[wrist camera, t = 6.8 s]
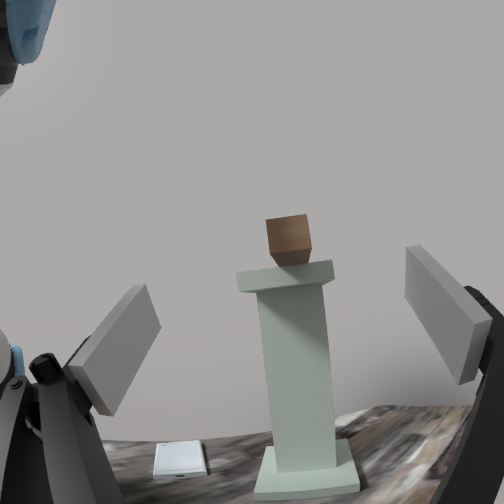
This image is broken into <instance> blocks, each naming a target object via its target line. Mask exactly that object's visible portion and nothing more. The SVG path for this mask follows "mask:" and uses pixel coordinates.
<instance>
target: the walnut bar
mask: <svg viewBox="0 0 504 504" xmlns="http://www.w3.org/2000/svg"><path fill="white" fill-rule="evenodd" d="M266 226H267V234H268V241H269V250H270V254H271V256H272V257H273V259H274V260H275V262H276V263H277V265H278V266H279V267H283V266H290V265H297V264H305V263H308V261H309V257H310V253H311V249H312V247H311V239H310V233H309V226H308V220H307V215H306V214H303V215H296V216H289V217H282V218H275V219H268V220H266Z"/></svg>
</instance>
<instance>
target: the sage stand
mask: <svg viewBox="0 0 504 504" xmlns="http://www.w3.org/2000/svg"><path fill="white" fill-rule="evenodd" d="M236 274H237V283H238V291H239V292H249V293H256V295H257V303H258V311H259V320H260V329H261V337H262V346H263V355H264V363H265V372H266V380H267V389H268V398H269V406H270V415H271V424H272V432H273V441H274V446H270V447H266V450H265V454H264V458H263V461H262V465H261V469H260V472H259V476H258V479H257V482H256V486H255V489H254V499H255V501H279V500H297V499H309V498H319V497H327V496H335V495H342V494H348V493H354V492H360V481H359V478H358V474H357V471H356V468H355V464H354V461H353V457H352V454H351V450H350V447H349V444H348V440H347V438H346V439H339V440H335V422H334V406H333V392H332V379H331V367H330V355H329V345H328V336H327V335H328V334H327V325H326V317H325V307H324V299H323V291H322V285H324V284H326V283H328V282H330V281H332V280H334V279H335V277H334V270H333V262H332V260H326V261H319V262H312V263H305V264H297V265H290V266H283V267H275V268H269V269H260V270H252V271H245V272H237V273H236Z"/></svg>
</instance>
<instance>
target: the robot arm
mask: <svg viewBox="0 0 504 504" xmlns="http://www.w3.org/2000/svg"><path fill="white" fill-rule="evenodd" d="M55 3H56V0H0V97H1V96H2V95H3V94H4V93H5V92H6V91H7V90H8V89H10V88H11V87H12V85H13V82H14V77H15V74H16V70H17V67H18V64H19V63H20V64H22V65H24V64H27V63H32V62H34V61H35V60H36V59H37V58H38V56H39V54H40V51H41V49H42V46H43V41H44V38H45V34H46V32H47V29H48V26H49V23H50V19H51V16H52V13H53V9H54V6H55ZM405 276H406V278H405V298H406V300H407V301H408V303H409V304H410V306H411V307H412V309H413V310H414V312H415V314H416V315H417V317H418V318H419V320H420V321H421V323H422V325H423V326H424V328H425V329H426V331H427V333H428V334H429V336H430V338H431V339H432V341H433V342H434V344H435V346H436V348H437V349H438V351H439V353H440V354H441V356H442V358H443V359H444V361H445V363H446V365H447V367H448V368H449V370H450V372H451V374H452V375H453V377H454V379H455V381H456V383H457V384H458V385H461V384H464V383H467V382H470V381H473V380H475V377H476V374H477V371H478V368H479V369H480V370H481V372H482V373H483V377H482V380H481V382H480V385H479V388H478V390H477V393H476V395H477V396H476V399H475V402H474V405H473V408H472V411H471V413H470V416H469V419H468V422H467V424H466V427H465V430H464V432H463V435H462V437H461V440H460V442H459V444H458V447H457V449H456V451H455V454H454V456H453V458H452V460H451V462H450V464H449V467H448V469H447V471H446V473H445V475H444V477H443V479H442V481H441V483H440V484H439V486H438V488H437V490H436V492H435V494H434V496H433V497H432V499H431V501H430V503H429V504H493V503H494V501H495V499H496V496H497V493H498V491H499V488H500V485H501V483H502V480H503V476H504V316H503V315H502V314H501V313H500V312H499V311H498V310H497V309H496V308H495V307H494V306H493V305H492V304H491V303H490V302H489V301H488V300H487V299H486V298H485V297H484V296H483V294H482V293H480V291H478V290H477V289H474V288H472V287H471V286H465V287H463V286H462V285H461V284H459V282H458V281H457V280H456V279H455V278H454V277H453V276H452V275H451V274H450V273H449V272H447V270H446V269H445V268H443V267H442V266H441V265H440V264H439V263H438V262H437V261H436V260H435V259H434V258H433V257H432V256H431V255H430V254H429V253H427V251H426V250H424V249H423V248H422V247H421V246H420V245H417V246H411V247H406V275H405ZM160 329H161V326H160V323H159V320H158V318H157V315H156V313H155V310H154V307H153V304H152V302H151V299H150V296H149V293H148V290H147V287H146V284H141V285H133V286H132V287H131V288H130V289H129V291H128V292H127V293H126V294H125V295H124V296H123V298H122V299H121V300H120V301H119V302H118V303H117V305H116V306H115V307H114V308H113V310H112V311H111V312H110V313H109V314H108V315H107V317H106V318H105V319H104V320H103V321H102V323H101V324H100V325H99V326H98V328H97V329H96V330H95V331H94V333H93V334H92V335H90V336H89V337H88V338H86V339H85V340H84V341H83V343H82V344H81V345H80V348H78V349H77V350H76V352H75V353H74V354H73V355H72V357H71V358H70V359H69V360H68V362H67V363H66V364H65V366H64V367H63V368H61V366H60V365H59V363H58V361H57V359H56V358H55V356H54V354H52V353H45V354H42V355H40V356H38V357H36V358H35V359H34V360H33V361H32V362H31V363H30V365H29V369H30V371H31V372H32V374H33V376H34V377H35V379H36V380H37V382H38V383H34V384H31V383H30V382H29V380H28V379H27V377H26V376H25V370H24V362H23V354H22V350H21V348H20V347H19V346H16V345H13V344H9V343H8V341H7V338H6V336H5V335H4V333H3V332H2V331H1V330H0V504H52V498H53V502H54V504H126V501H125V499H124V497H123V495H122V493H121V490H120V488H119V486H118V484H117V481H116V479H115V476H114V474H113V472H112V469H111V466H110V464H109V461H108V459H107V456H106V453H105V451H104V448H103V445H102V442H101V439H100V436H99V433H98V430H97V428H96V424H95V421H94V418H93V416H92V414H91V413H90V411H89V410H90V409H91V407H92V405H93V406H94V407H95V409H96V410H97V412H98V413H99V415H106V416H114V415H115V413H116V411H117V409H118V407H119V405H120V403H121V401H122V400H123V397H124V396H125V394H126V392H127V390H128V388H129V386H130V384H131V382H132V381H133V379H134V377H135V375H136V373H137V371H138V369H139V367H140V366H141V364H142V362H143V360H144V358H145V356H146V355H147V353H148V351H149V349H150V347H151V345H152V343H153V342H154V340H155V338H156V336H157V335H158V333H159V331H160ZM29 426H30V427H29Z"/></svg>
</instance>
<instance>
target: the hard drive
mask: <svg viewBox="0 0 504 504" xmlns="http://www.w3.org/2000/svg"><path fill="white" fill-rule="evenodd" d="M200 476H208V475H207V470H206V465H205V460H204V455H203V450H202V446H201V441H199V440H195V441H185V442H173V443H160V444H157V449H156V456H155V464H154V473H153V478H154V480H164V479H179V478H191V477H200Z"/></svg>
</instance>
